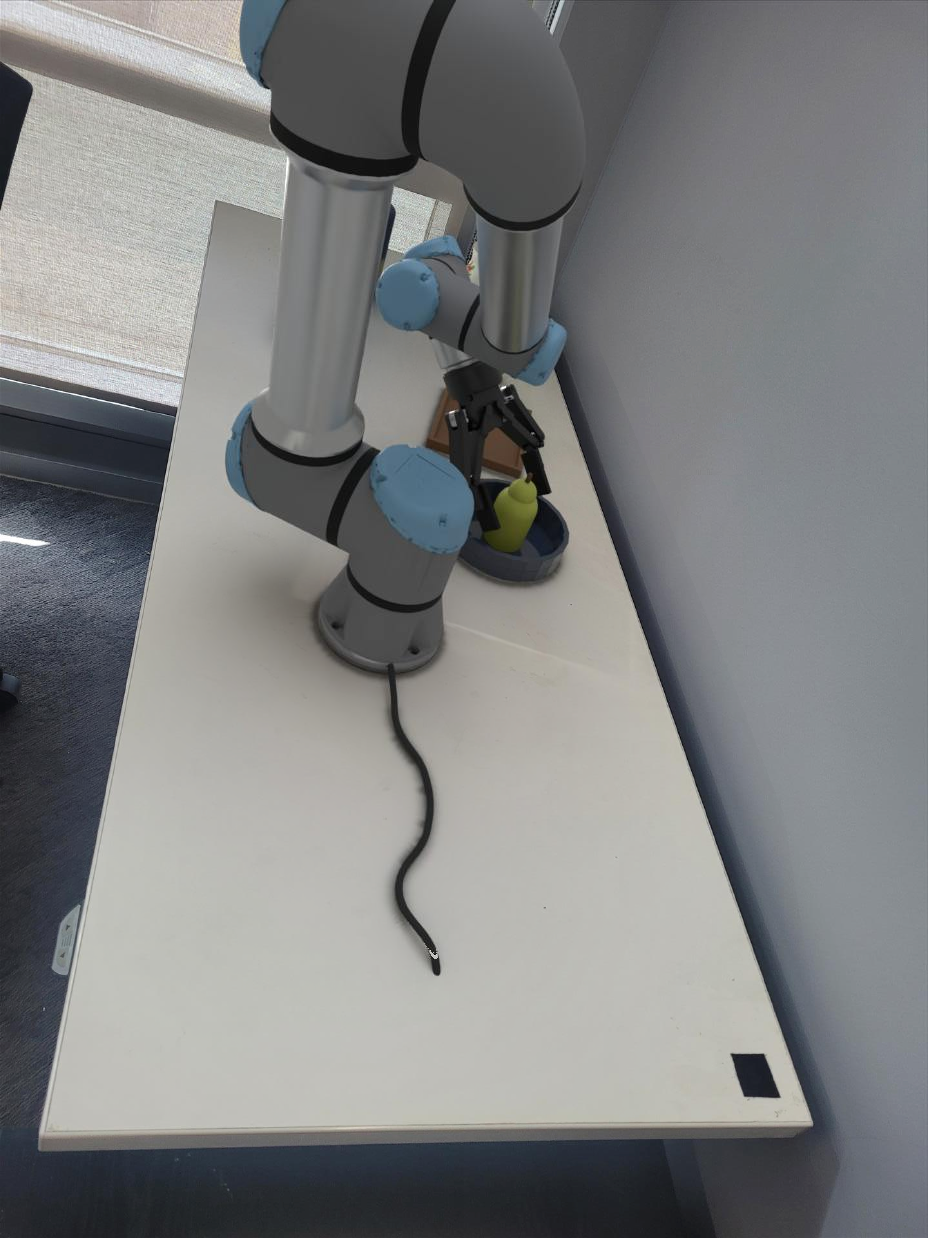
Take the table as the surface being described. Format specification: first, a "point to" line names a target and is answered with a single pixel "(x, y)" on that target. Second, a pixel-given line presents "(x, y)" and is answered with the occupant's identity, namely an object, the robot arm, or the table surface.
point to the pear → (513, 515)
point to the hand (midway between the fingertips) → (518, 511)
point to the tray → (497, 445)
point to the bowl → (536, 550)
